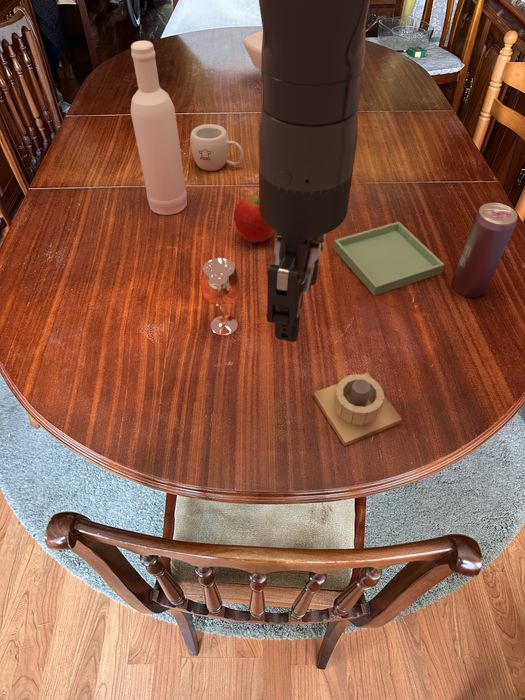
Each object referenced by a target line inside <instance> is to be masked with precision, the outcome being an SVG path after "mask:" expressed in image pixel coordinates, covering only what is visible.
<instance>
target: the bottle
mask: <svg viewBox="0 0 525 700" xmlns="http://www.w3.org/2000/svg"><path fill="white" fill-rule="evenodd" d="M154 47H155V46H154V44H153V43H152V42H151V41H150V40H137V41H134V42H133V43H132V44H131V45H130V49H131V52H130V54H131V58H132V60H133V67H134V71H135V77H136V84H137V88H138V89H137V90H136V92H135V93H134V95H133V96H132V98H131V104H130V115H131V121H132V125H133V131H134V135H135V140H136V145H137V150H138V155H139V162H140V165H141V171H142V176H143V181H144V185H145V191H146V199H147V202H148V205H149V208H150V209H149V210H151V211H152V212H153V213H155V214H158V215H161V216H171V215H172V216H173V215H175V214H178V213H180V212H183V210H185V208H186V207H187V206H188V205H187V204H188V198H187V197H188V194H187V189H186V184H185V177H184V168H183V161H182V154H181V145H180V138H179V130H178V123H177V115H176V108H175V105H174V103H173V101H172V99H171V97H170V95H169V93H168V92H166V90H164V89H163V88H161V86H160V81H159V74H158V67H157V60H156V51H155V48H154Z"/></svg>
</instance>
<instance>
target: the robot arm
mask: <svg viewBox="0 0 525 700" xmlns="http://www.w3.org/2000/svg"><path fill="white" fill-rule="evenodd" d="M370 3H371V0H258V5H259V12H260V13H259V14H260V19H261V27H262V30H263V37H262V51H261V72H260V77H261V78H260V81H261V83H260V84H261V85H260V89H261V91H260V93H261V98H260V99H261V106H260V107H261V108H260V119H259V125H258V126H259V127H258V139H257V141H258V143H257V144H258V147H257V148H258V196H259V210H260V214H261V217H262V218H263V220H264V221H265V223H266V224H267V225H269V226H270V227H271V228H273V229H274V230H275V232H276V233H277V234H278V235H276V238H275V241H274V248H273V255H274V257H275V258H274V264H273V263H271V264H270V265H269V267H268V269H267V273H266V274H267V302H266V303H267V304H266V305H267V307H266V310H267V311H266V316H265V317H266V322H268V323H272V324H274V337H275V338H276V339H278V340H282V341H286V342H290V343H296V342H297V340H298V337H299V333H300V320H301V315H302V312H303V309H302V307H303V306H302V305H303V300H304V295H305V294H306V293H308V292H309V291H310V290H311V287H312V286H315V285H316V282H317V279H318V270H319V269H318V268H319V260H320V259H319V258H320V255H321V254H322V253H321V252H323V250H324V248H325V243H326V238H327V234H328V233H331V232H333V231H334V230H336V229H337V228H338V227H340V226H341V225H342V224H343V222H344V221H345V219H346V217H347V214H348V208H349V201H350V194H351V187H352V179H353V172H354V165H355V158H356V152H357V144H358V113H359V104H360V97H361V89H362V82H363V76H364V75H363V74H364V67H365V57H366V56H365V55H366V38H367V37H366V34H367V33H366V22H367V17H368V13H369V8H370Z"/></svg>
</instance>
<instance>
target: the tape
mask: <svg viewBox="0 0 525 700" xmlns="http://www.w3.org/2000/svg"><path fill="white" fill-rule="evenodd" d="M358 379H363V380H366V381H367V382H368V383H369V384H370V387H371V388H370V392H369V396H368V397H369V398H370V400H371V401H372V403H373V404H371V405H369V406H366V407H360V406H354V405H353V404H351V403H349V402H348V401H347V400H346V398H345V397H344V396H345V395H347V394H349V393H351V389H352V385H353V382H354V381H356V380H358ZM337 384H338V385H337V387H336V391H335V397H334V409H335V411H336V412H337V414H338V416H339V417H341V419H343V420H345V421H346V422H348V423H350V424H351V423H352V424H354V425H363V424H364V425H366V424H368V423H370V422H373V421H374V420H376V418H377V417H378V415H379V414H380V411H381V408H382V405H383V402H384V395H385V392H384V389H383V387H382V386H381V385H380V383H379V382H378V380H376V379H374V378H372V377H371V378H370V377H369V376H367V375H366V376H365V375H362V374H357V373H354V374H353V373H352V374H350V375H346V376H344V377H343V378H341V379H340V381H339V382H338V383H337Z"/></svg>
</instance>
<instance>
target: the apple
mask: <svg viewBox="0 0 525 700" xmlns="http://www.w3.org/2000/svg"><path fill="white" fill-rule="evenodd" d="M233 220H234V225H235V227H236V229H237V231H238V233H239V235H240V236H241V237H242V238H243V239H244V240H245V241H247V242H249V243H254V244H255V243H261V242H265V241H267V240H269V239H270V238H272V236H273V235H274V234H275V232H276V231H275V230H274V229H273V228H271V227H270V226H269V225H267V224H266V223H265V221H264V220H263V218H262V217H261V214H260V210H259V194H258V195H257V194H255V195H254V194H251V195H247V196H245V197H243V198H242V199H241V200H239V202H238V203H237V204H236V206H235V208H234V211H233Z"/></svg>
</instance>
